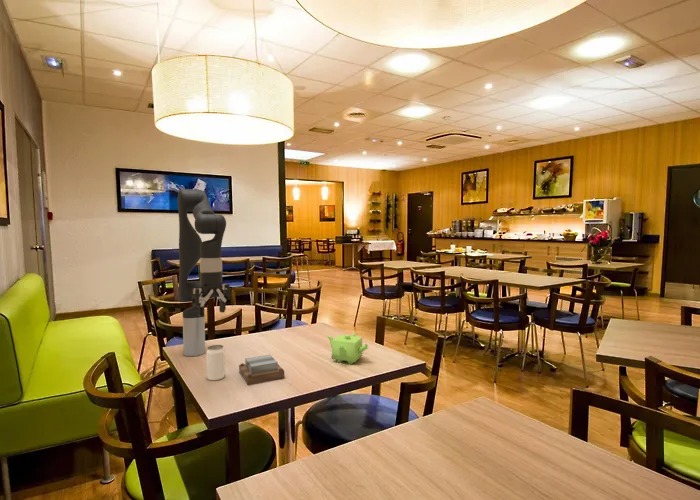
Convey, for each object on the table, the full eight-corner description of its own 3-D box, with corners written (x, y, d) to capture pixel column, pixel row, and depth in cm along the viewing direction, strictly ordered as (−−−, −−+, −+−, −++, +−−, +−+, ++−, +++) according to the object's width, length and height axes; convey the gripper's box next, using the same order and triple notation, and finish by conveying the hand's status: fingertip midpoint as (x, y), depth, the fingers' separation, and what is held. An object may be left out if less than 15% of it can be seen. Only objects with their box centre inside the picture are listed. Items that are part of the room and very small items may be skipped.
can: (219, 381, 144) (218, 350, 143) (203, 380, 145) (203, 349, 144) (228, 375, 150) (227, 345, 149) (213, 373, 151) (212, 343, 151)
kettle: (325, 357, 171) (325, 332, 170) (354, 353, 177) (354, 329, 176) (338, 368, 157) (338, 341, 157) (369, 363, 163) (369, 337, 163)
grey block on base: (239, 372, 153) (239, 357, 152) (273, 366, 159) (273, 352, 159) (247, 385, 140) (247, 369, 140) (284, 378, 147) (284, 363, 147)
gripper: (221, 267, 145) (222, 309, 146) (186, 271, 133) (187, 316, 135) (234, 269, 141) (234, 312, 142) (199, 273, 129) (200, 320, 130)
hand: (212, 314), depth 138 cm, fingers open, 8 cm apart
